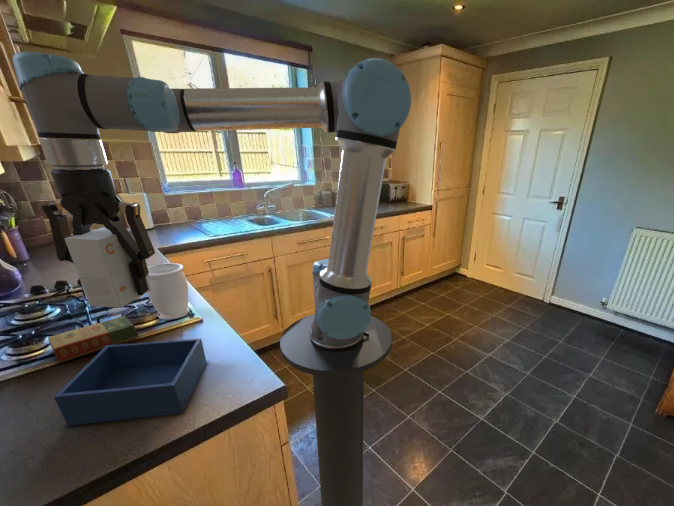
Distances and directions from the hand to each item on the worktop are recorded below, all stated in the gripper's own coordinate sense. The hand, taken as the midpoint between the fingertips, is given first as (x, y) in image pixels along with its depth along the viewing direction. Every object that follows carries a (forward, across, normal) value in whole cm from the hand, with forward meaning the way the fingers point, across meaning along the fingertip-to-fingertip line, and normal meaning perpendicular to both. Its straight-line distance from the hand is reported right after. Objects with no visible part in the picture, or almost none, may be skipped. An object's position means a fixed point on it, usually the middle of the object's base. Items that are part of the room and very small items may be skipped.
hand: (120, 293), depth 63 cm
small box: (+1, 0, 0) cm, 1 cm away
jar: (+22, +7, -34) cm, 41 cm away
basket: (+22, 0, +2) cm, 22 cm away
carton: (+22, +20, -19) cm, 35 cm away
